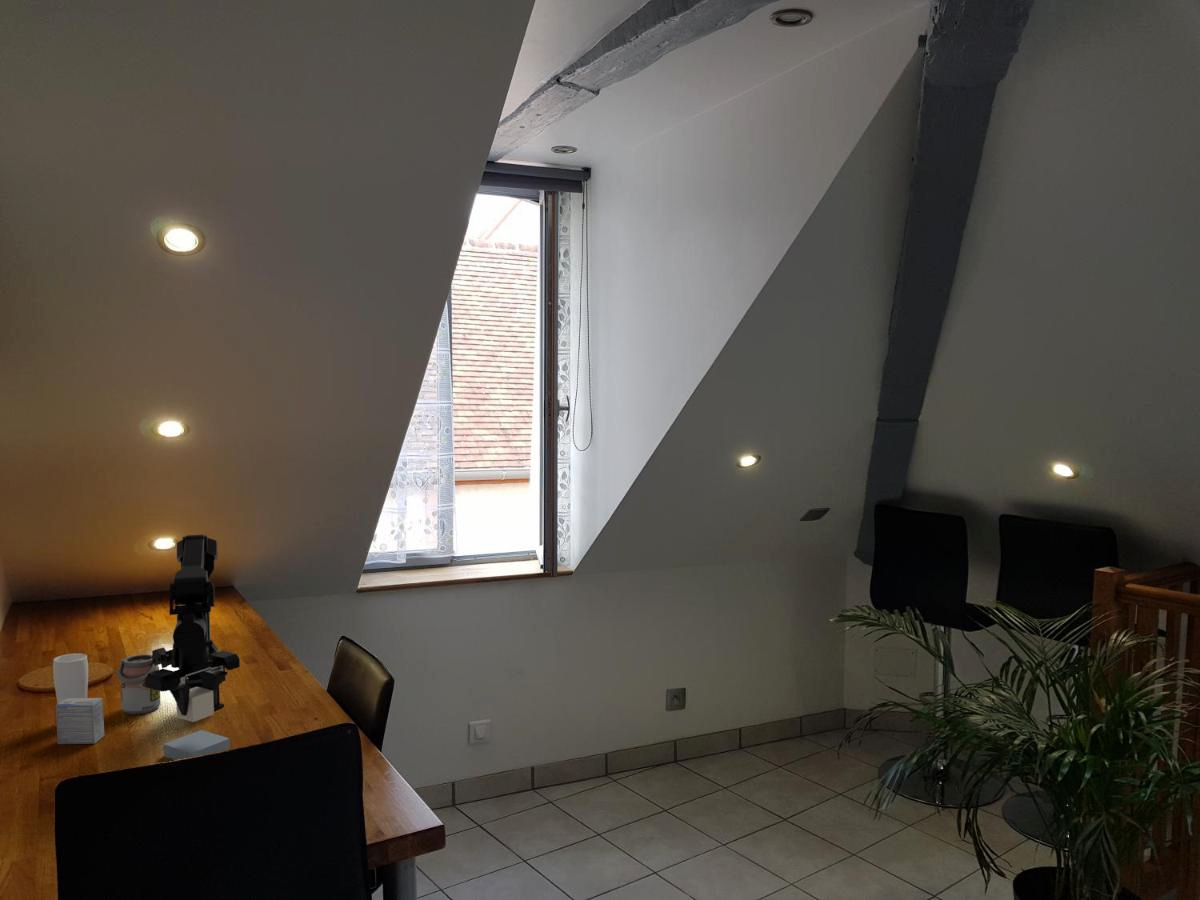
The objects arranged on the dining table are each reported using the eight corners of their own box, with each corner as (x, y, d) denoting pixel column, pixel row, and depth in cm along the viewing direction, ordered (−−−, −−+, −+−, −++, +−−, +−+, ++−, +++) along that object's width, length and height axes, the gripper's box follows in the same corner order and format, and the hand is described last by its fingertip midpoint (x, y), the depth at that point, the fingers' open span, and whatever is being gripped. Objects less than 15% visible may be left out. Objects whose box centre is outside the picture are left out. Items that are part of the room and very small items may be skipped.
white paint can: (151, 716, 223) (149, 664, 222) (113, 717, 222) (111, 665, 221) (166, 702, 232) (164, 652, 231) (129, 703, 231) (127, 653, 230)
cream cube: (198, 709, 205) (197, 686, 204) (214, 714, 202) (213, 690, 202) (177, 717, 200) (176, 693, 200) (193, 722, 198) (192, 697, 197)
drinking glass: (86, 727, 216) (83, 660, 215) (52, 730, 214) (49, 663, 213) (93, 716, 223) (90, 652, 221) (60, 719, 221) (56, 654, 219)
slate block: (201, 743, 208) (201, 730, 208) (229, 752, 204) (229, 738, 203) (163, 758, 200) (163, 744, 200) (192, 767, 196) (191, 753, 196)
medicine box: (105, 736, 211) (103, 697, 210) (95, 744, 207) (93, 704, 206) (67, 737, 211) (65, 697, 210) (57, 745, 206) (55, 704, 206)
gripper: (205, 620, 212) (208, 691, 213) (125, 642, 196) (129, 718, 197) (240, 628, 206) (242, 700, 208) (161, 650, 190) (164, 728, 192)
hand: (195, 711), depth 201 cm, fingers closed on cream cube, 5 cm apart
